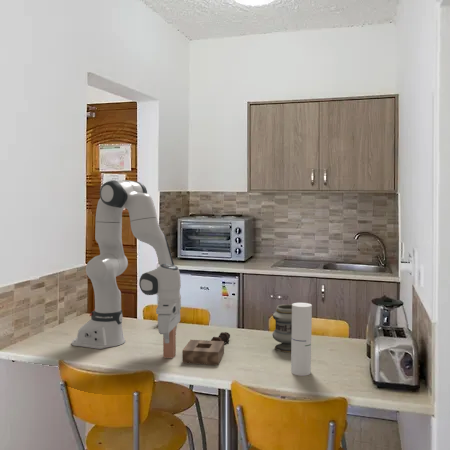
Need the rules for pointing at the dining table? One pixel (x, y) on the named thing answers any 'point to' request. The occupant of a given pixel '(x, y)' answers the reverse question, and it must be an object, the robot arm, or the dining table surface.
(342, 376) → the dining table surface
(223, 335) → the bolt
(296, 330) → the cylindrical container
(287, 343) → the apothecary jar
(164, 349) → the peg
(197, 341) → the socket block
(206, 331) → the dining table surface
